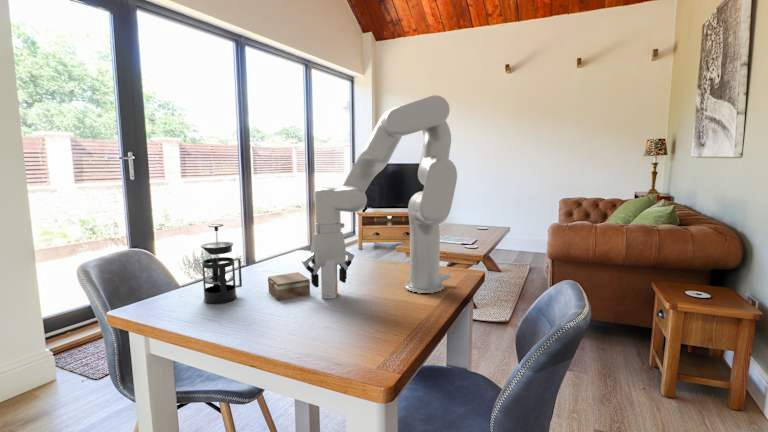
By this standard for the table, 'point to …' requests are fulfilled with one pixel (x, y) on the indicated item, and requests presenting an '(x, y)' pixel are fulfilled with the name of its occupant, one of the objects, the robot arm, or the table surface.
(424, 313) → the table surface
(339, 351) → the table surface
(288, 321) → the table surface
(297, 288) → the gift box
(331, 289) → the skincare box
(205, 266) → the french press
